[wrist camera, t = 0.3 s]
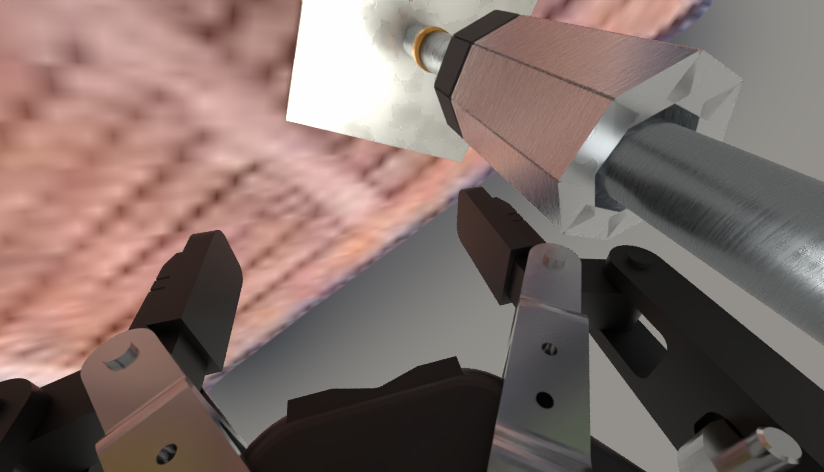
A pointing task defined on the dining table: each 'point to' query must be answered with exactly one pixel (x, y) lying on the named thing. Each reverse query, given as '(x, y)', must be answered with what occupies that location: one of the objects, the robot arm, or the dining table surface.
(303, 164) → the dining table surface
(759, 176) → the pipe stand
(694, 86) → the metal sleeve
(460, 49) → the black hex nut
